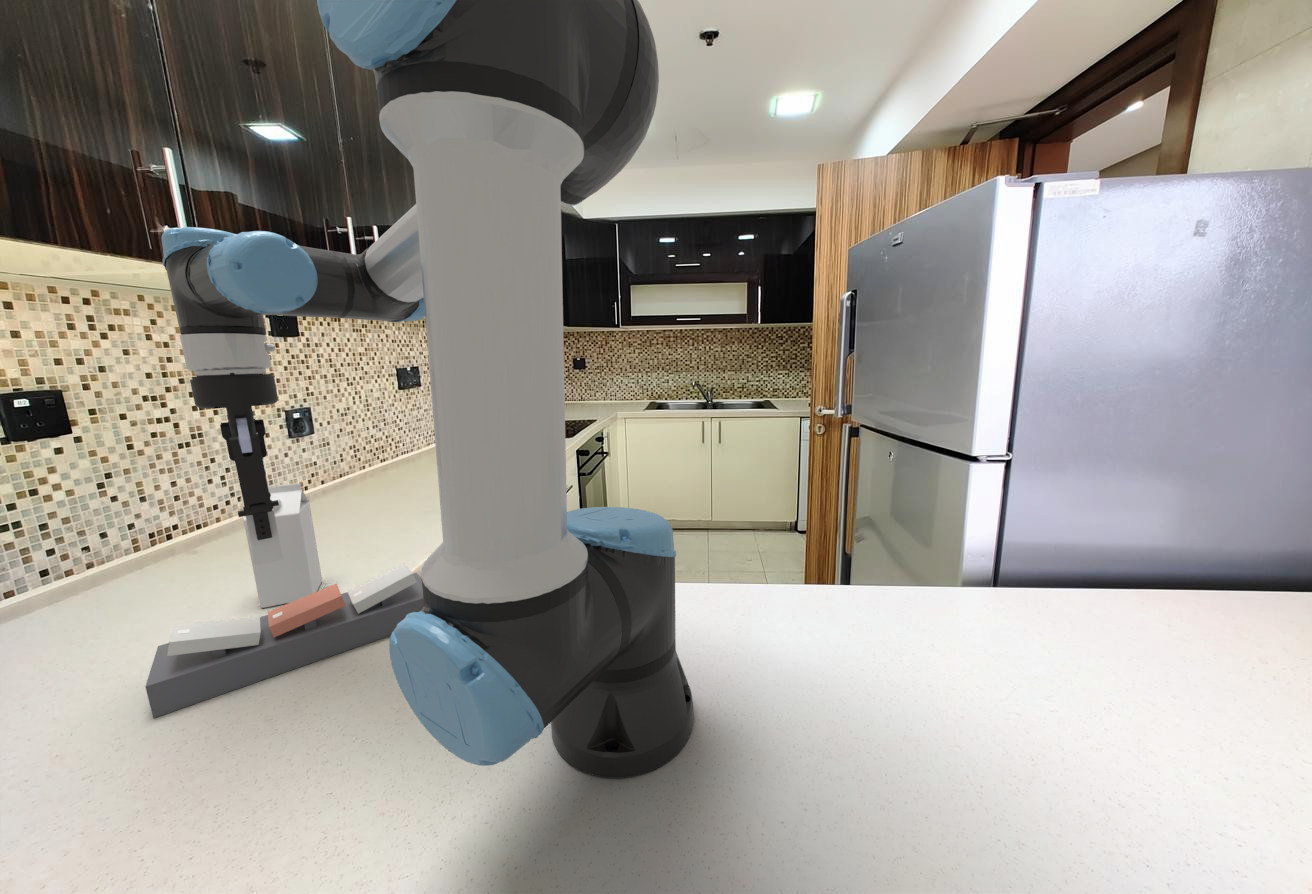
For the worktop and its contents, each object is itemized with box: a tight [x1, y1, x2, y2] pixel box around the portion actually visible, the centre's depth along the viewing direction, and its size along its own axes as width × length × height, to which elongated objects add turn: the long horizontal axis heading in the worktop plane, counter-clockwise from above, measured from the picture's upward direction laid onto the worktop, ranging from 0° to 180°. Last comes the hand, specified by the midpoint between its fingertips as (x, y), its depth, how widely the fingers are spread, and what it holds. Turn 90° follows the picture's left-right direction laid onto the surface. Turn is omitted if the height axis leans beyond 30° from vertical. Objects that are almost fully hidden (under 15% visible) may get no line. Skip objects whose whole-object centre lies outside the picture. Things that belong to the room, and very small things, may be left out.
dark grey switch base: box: [144, 572, 424, 719], centre depth 67 cm, size 10×36×5 cm, turn 130°
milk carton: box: [243, 483, 323, 609], centre depth 79 cm, size 7×7×19 cm
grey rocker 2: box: [347, 562, 416, 614], centre depth 69 cm, size 5×8×2 cm, turn 130°
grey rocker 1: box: [167, 616, 261, 656], centre depth 58 cm, size 5×8×2 cm, turn 130°
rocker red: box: [267, 583, 346, 637], centre depth 64 cm, size 5×8×2 cm, turn 130°
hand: (269, 560), depth 60 cm, fingers closed
